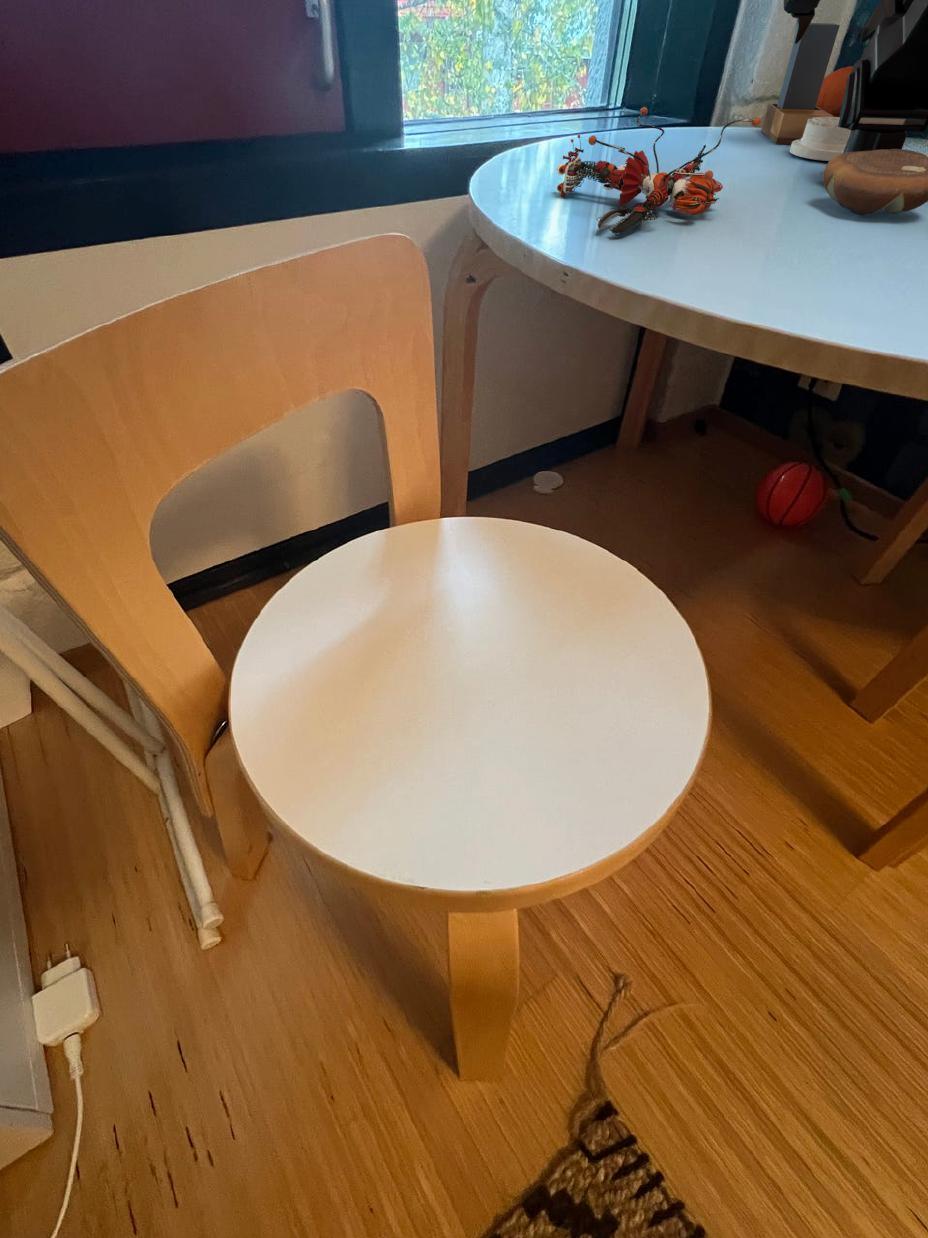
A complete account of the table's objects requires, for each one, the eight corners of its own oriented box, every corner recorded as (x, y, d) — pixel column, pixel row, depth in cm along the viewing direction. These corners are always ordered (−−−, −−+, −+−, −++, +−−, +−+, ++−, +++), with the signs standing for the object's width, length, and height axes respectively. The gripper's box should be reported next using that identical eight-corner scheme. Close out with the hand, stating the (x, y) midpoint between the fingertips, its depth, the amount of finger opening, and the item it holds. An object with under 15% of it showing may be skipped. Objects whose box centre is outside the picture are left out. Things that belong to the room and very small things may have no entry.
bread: (908, 141, 78) (889, 191, 82) (814, 151, 77) (799, 200, 81) (972, 170, 71) (949, 223, 75) (869, 181, 70) (850, 234, 74)
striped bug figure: (497, 231, 74) (667, 280, 68) (502, 137, 68) (692, 181, 61) (596, 161, 88) (746, 196, 81) (609, 76, 81) (774, 107, 75)
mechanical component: (822, 165, 95) (877, 161, 98) (834, 127, 92) (891, 123, 95) (774, 151, 102) (826, 148, 105) (784, 115, 99) (838, 112, 102)
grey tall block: (807, 132, 110) (839, 24, 101) (775, 130, 110) (805, 23, 101) (802, 128, 112) (833, 23, 103) (771, 127, 113) (799, 22, 104)
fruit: (807, 117, 125) (823, 61, 120) (859, 122, 122) (878, 64, 117) (800, 124, 119) (817, 66, 114) (855, 129, 117) (875, 69, 111)
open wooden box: (823, 145, 106) (833, 115, 103) (775, 143, 107) (784, 113, 104) (805, 133, 114) (814, 104, 111) (761, 131, 114) (768, 103, 111)
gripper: (972, -145, 82) (895, -17, 97) (812, -140, 82) (761, -13, 98) (974, -56, 81) (896, 59, 97) (813, -52, 82) (761, 61, 97)
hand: (828, 39), depth 97 cm, fingers open, 9 cm apart
